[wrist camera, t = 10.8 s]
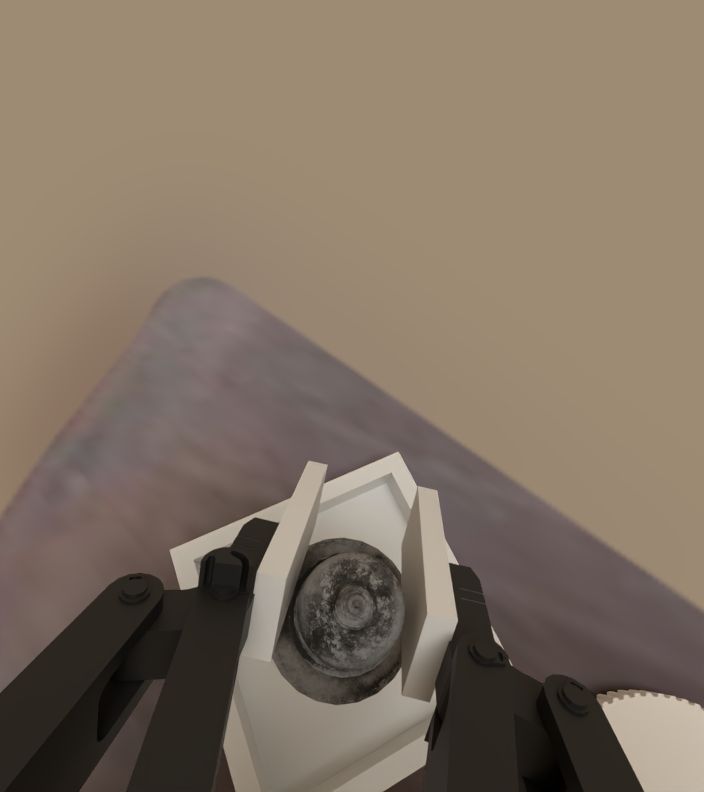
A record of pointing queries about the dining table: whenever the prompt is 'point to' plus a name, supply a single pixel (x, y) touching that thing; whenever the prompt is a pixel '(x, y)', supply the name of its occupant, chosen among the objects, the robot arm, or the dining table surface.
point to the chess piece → (342, 623)
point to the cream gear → (659, 738)
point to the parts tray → (300, 715)
